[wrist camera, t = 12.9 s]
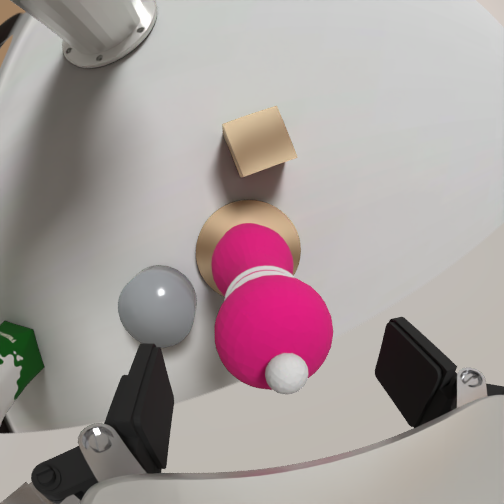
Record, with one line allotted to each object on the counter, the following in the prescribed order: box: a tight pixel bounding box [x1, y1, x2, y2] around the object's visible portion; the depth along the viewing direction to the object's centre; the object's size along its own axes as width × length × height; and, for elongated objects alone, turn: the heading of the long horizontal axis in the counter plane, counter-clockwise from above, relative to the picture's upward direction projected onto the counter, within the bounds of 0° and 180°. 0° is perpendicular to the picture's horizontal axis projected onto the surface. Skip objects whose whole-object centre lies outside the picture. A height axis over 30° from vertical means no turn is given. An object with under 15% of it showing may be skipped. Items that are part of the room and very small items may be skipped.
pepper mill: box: [211, 223, 333, 394], centre depth 19 cm, size 7×7×20 cm
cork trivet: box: [196, 200, 301, 297], centre depth 29 cm, size 11×11×1 cm
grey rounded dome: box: [118, 265, 197, 348], centre depth 28 cm, size 8×8×4 cm
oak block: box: [222, 106, 297, 178], centre depth 25 cm, size 5×5×5 cm
